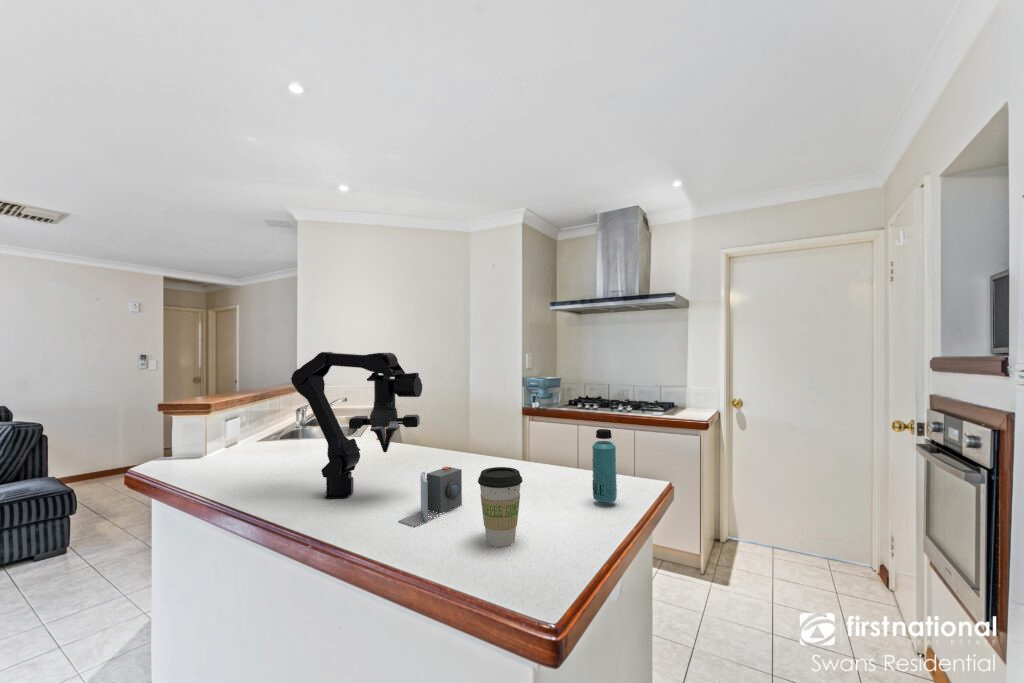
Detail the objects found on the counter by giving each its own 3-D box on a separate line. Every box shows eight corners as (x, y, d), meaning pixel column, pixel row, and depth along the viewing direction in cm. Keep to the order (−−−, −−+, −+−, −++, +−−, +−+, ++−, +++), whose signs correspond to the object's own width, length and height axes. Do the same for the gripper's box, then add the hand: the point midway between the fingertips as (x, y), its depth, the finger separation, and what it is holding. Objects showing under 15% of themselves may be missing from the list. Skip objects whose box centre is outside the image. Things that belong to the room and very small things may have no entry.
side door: (424, 520, 108) (424, 481, 108) (420, 508, 116) (420, 472, 117) (429, 520, 108) (429, 481, 109) (425, 508, 117) (424, 471, 117)
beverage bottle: (619, 501, 122) (618, 428, 122) (614, 510, 116) (613, 432, 116) (595, 498, 125) (595, 426, 125) (589, 506, 119) (588, 430, 119)
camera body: (398, 522, 109) (397, 480, 109) (448, 501, 123) (447, 464, 123) (416, 528, 105) (415, 484, 106) (465, 506, 120) (465, 467, 120)
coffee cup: (489, 555, 91) (489, 481, 92) (471, 537, 100) (470, 469, 100) (531, 544, 96) (530, 474, 96) (510, 528, 105) (509, 464, 105)
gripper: (342, 400, 118) (343, 460, 118) (414, 399, 120) (414, 458, 119) (354, 396, 129) (354, 450, 129) (419, 395, 131) (420, 448, 130)
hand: (385, 452), depth 127 cm, fingers closed
